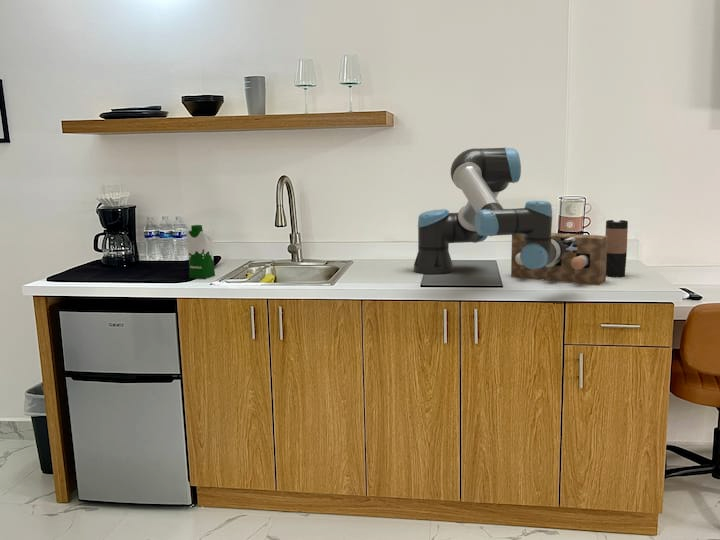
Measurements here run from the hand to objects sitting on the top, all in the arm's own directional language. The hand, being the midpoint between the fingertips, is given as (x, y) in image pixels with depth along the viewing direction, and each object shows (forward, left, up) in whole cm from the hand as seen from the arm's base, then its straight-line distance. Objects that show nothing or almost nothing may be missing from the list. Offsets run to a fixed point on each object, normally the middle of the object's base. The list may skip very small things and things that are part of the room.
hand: (572, 241), depth 244 cm
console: (-10, +17, -16) cm, 26 cm away
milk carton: (-129, -41, -17) cm, 137 cm away
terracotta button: (0, +10, -11) cm, 15 cm away
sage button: (-10, +10, -11) cm, 18 cm away
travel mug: (+6, +33, -17) cm, 37 cm away
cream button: (-20, +10, -11) cm, 25 cm away
